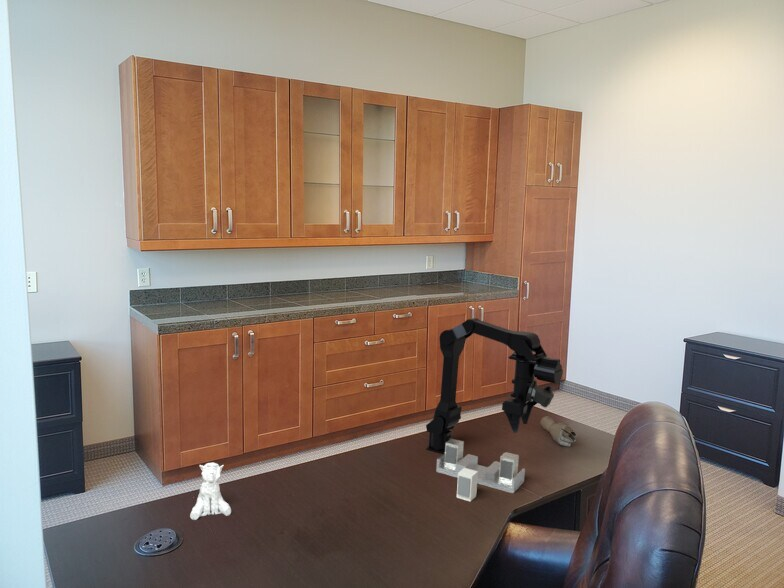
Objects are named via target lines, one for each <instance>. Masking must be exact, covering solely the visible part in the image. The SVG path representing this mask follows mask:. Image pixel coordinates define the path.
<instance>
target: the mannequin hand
mask: <svg viewBox="0 0 784 588" xmlns="http://www.w3.org/2000/svg"><path fill="white" fill-rule="evenodd" d="M540 427H541V428H543V430H545V431H547V432H548V433H550V436H551V437H552V438H553V440H554V441H555V443H557V444H558V445H560V446H564V447H571V444H573V443H574V442H576V441H577V437H578V432H577V431H575V430H574V429H573V428H572V427H571V425H569V424H568V423H567V422H556V421H555V420H554V419H553V418H552V417H551V416H549V415H548V416H547V415H545V416H543V417H542V418H541V419H540Z"/></svg>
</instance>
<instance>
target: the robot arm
mask: <svg viewBox="0 0 784 588" xmlns="http://www.w3.org/2000/svg"><path fill="white" fill-rule="evenodd" d="M473 334H475V335H479V336H481V337H484V338H487V339H489V340H492V341H495V342H499V343H501V344H503V345H505V346H507V347H508V348H509V349H510V350H512V351H513V353H512V354H510V355H509V356H508V359H509V360H513V361H515V364H514V378H512V379H511V384H513V386H512V387H513V390H512V392H511V393H510V398H508V399H506V400H504V402H502V403H501V405H502V406H501V410H502V411H503V413H505V416H506V418H507V421H508V423H509V425H510V428H511V431H512V433H514V434H518V431H519V428H520V424H521V421H522V424H524V425H527V424H528V421H529V419H530V416H531V414H532V410H533V408H534V407H535V406H536V405H537V404H538V405H539V404H540V406H541V407H543V408H548V407H549V406H550V404H551V402H552V400H553V399H554V398H555V397H554V395H555V393H554V392H553V387H552V386H551V385H546V386H545V387H543V386H538V381H537V380H539V381H543V382H547V383H551V384H556V385H558V384H559V383H560V382H561V381H562V377H563V373H564V369H563V366H562V364H561V359H560V358H552V357H548V356H547V353H546V352H545V350H544V348H543V346H542V344H541V339H540V338H539V335H538V334H536V333H534V332H530V331H522V330H521V331H520V330H519V331H518V330H510V329H508V328H504V327H502V326H498V325H496V324H492V323H489V322H487V321H484V320H480V319H478V318H477V317H474V318H470V319H469V318H468V319H466V320H465V321H464V322H462V323H460V324H458V325H457V326H454V327H453V328H449V329H445V330H442V332H440V335H439V348H440V351H441V353H442V356H443V359H442V360H443V361H442V373H441V385H440V386H441V387H440V396H439V397H440V399H439V402H438V404H437V406H436V408H435V410H434V414H433V419H432V420H431V421H429V422H428V423H426V425H425V428H426V432H427V433H428V435H429V436H428V446H426V447H425V448H426V450H428V451H432V452H435V453H438V454H442V455H443V454H444V453H445V447H446V442H447V441H449V440H450V439H453V436H452V431H451V430H454V428H455V426H456V425H457V424H458V423H459V421H460V420H461V419H462V415H461V413H462V406H458V403H457V401H456V398H457V384H458V374H459V373H458V372H459V362H460V356H461V354H462V352H463V351H464V348H465V345H466V341H467V339H468V338H470V337H471V336H473ZM535 378H536V379H535Z"/></svg>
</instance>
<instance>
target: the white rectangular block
mask: <svg viewBox="0 0 784 588" xmlns="http://www.w3.org/2000/svg"><path fill="white" fill-rule="evenodd" d="M477 478H478V471H475V470H471V469H467V468H463V469H462V470H461V471H460V472H458V478H457V482H456V483H457V487H456V498H457V499H460V500H464V501H467V502H472V501H473V500H474V499H475V498H476V497H477V489H478V483H477Z"/></svg>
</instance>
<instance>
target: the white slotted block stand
mask: <svg viewBox="0 0 784 588" xmlns="http://www.w3.org/2000/svg"><path fill="white" fill-rule="evenodd" d="M464 445H465V441H464V440H459V439H454V438H452V439H450V440H449V441H447V442H446V447H445V453H444V454H443V453H442V454H441V455H440V456H439V457H437V458H436V469H435V470H436V473H439V474H444V475H447V476H450V477H452V478H457V479H458V472H460V471H461V470H462V469H463V468H467V469H471V470H475V471H478V478H477V485H478V484H479V485H481V486H486V487H489V488H492V489H496V490H499V491H503V492H506V493H510V494H514V493H515V492H516V491H517V490H518V489H519V488H520V487H522V485H523V484H524V483H525V474H526V473H525V472H526V468H524V467H523V468H522V469H521V470H520V471H519V470H518V469H519V459H520V455H519V454H515V453H510V452H508V451H506V452H503V453H502V454H501V455H500V457H499V459H500V460H499V461H497V460H496V461H495V460H494V461H493V462H492V463H491V464H490V465H488V466H484V465H481V464H479V463H478V462H479V456H477V455H474V454H470V453H467V454H466V455H465V456H464ZM518 471H519V472H518Z"/></svg>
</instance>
